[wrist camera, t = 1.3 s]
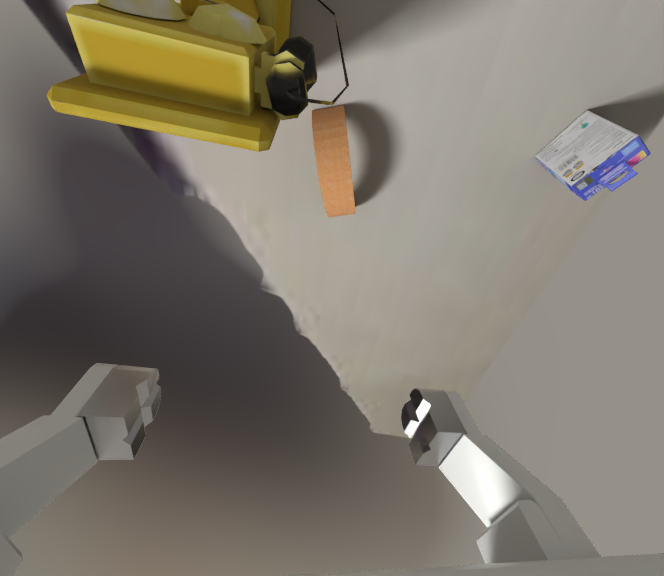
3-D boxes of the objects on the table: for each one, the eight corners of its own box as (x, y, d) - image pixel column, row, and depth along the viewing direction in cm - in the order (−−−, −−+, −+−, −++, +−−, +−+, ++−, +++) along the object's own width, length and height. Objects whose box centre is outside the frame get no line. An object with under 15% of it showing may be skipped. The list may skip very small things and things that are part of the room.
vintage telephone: (366, -32, 37) (412, -57, 17) (342, 91, 47) (353, 170, 27) (106, -113, 33) (-269, -281, 12) (141, 42, 43) (-34, 94, 22)
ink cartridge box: (547, 172, 58) (592, 210, 48) (532, 157, 55) (576, 194, 46) (601, 127, 52) (666, 160, 42) (587, 108, 49) (651, 138, 40)
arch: (345, 104, 49) (347, 123, 42) (354, 206, 63) (357, 233, 56) (312, 110, 49) (309, 129, 43) (329, 210, 64) (329, 236, 57)
